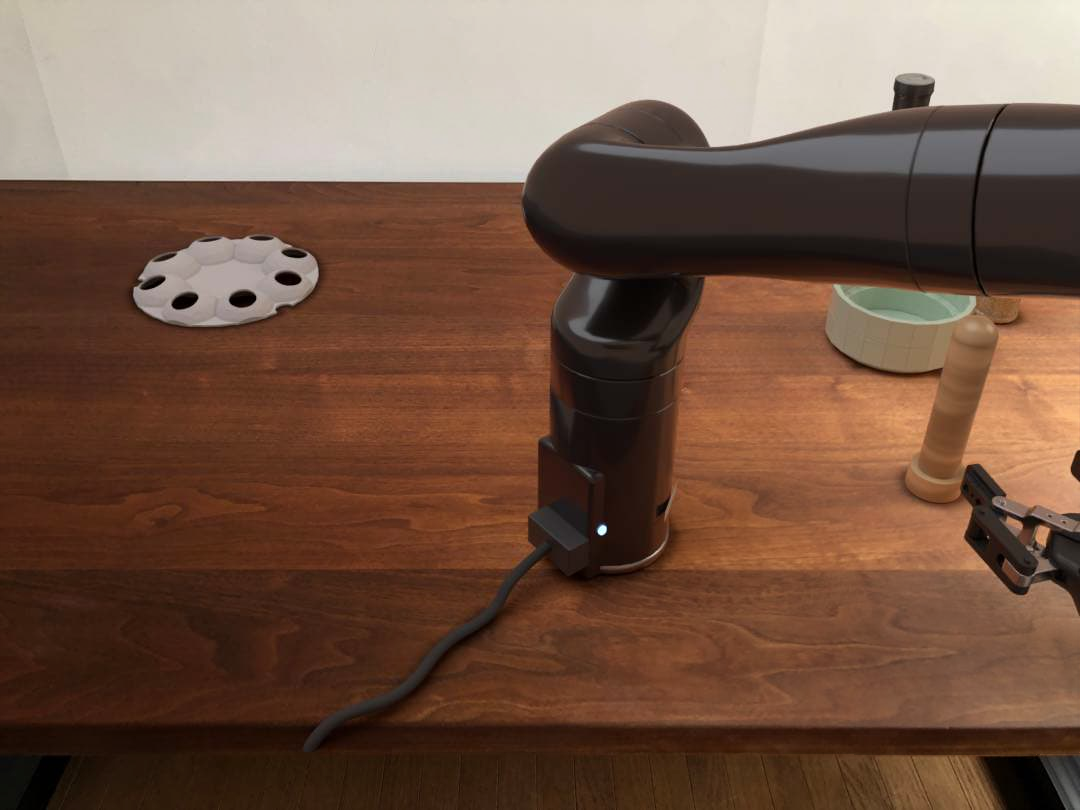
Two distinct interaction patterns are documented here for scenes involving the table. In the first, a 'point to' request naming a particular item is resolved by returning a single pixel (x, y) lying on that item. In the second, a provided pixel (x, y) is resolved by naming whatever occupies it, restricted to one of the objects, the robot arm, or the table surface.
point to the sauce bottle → (912, 91)
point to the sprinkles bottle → (997, 308)
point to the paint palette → (225, 280)
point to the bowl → (894, 326)
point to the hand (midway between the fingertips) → (1023, 466)
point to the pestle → (953, 411)
